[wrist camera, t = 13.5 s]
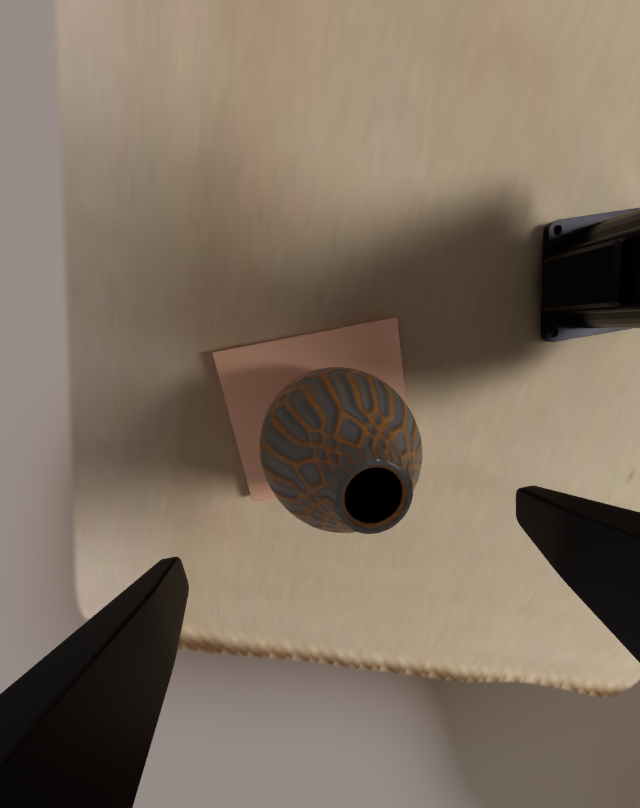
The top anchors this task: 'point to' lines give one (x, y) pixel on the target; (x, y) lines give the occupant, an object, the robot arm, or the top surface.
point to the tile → (285, 361)
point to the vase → (341, 451)
